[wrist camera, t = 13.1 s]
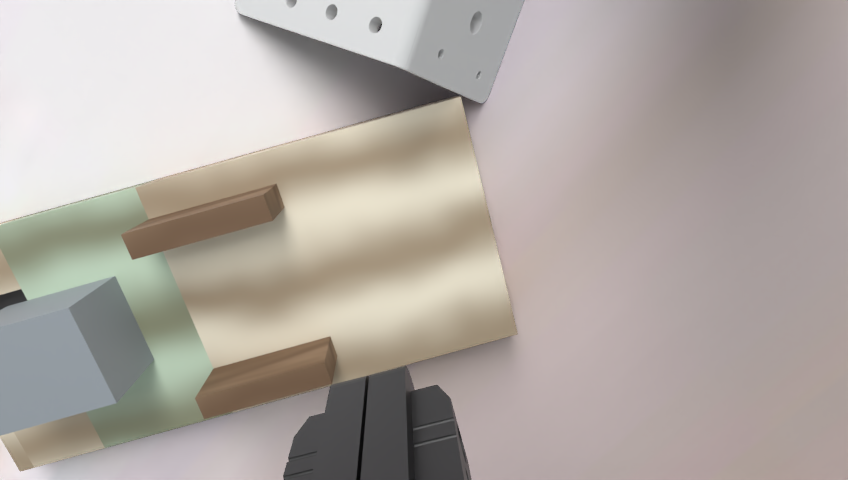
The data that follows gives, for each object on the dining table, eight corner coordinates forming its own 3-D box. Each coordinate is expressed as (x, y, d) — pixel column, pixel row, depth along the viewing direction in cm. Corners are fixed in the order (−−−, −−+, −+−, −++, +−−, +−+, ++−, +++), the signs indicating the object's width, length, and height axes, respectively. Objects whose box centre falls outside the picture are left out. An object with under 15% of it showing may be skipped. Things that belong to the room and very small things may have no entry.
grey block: (6, 306, 33) (-59, 343, 28) (115, 275, 33) (68, 307, 28) (51, 388, 34) (-4, 436, 30) (154, 359, 34) (116, 403, 30)
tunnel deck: (-66, 241, 34) (-167, 275, 28) (454, 96, 34) (470, 97, 28) (47, 443, 39) (-18, 510, 33) (507, 315, 38) (531, 359, 32)
